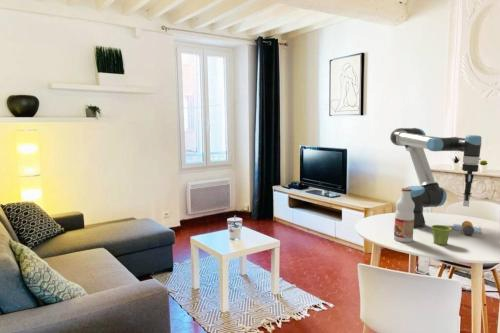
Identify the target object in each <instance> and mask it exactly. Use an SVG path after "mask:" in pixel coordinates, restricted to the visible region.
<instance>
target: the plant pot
mask: <svg viewBox="0 0 500 333" xmlns="http://www.w3.org/2000/svg"><path fill="white" fill-rule="evenodd" d="M431 230H432V238H433V239H432V240H433V244H435V245H440V246H446V245H448V241H449V237H450V233H451V231H452V227H451V226H448V225H442V224H433V225H431Z"/></svg>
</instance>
